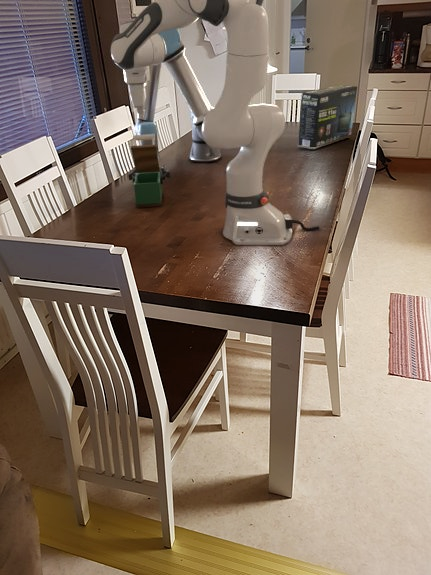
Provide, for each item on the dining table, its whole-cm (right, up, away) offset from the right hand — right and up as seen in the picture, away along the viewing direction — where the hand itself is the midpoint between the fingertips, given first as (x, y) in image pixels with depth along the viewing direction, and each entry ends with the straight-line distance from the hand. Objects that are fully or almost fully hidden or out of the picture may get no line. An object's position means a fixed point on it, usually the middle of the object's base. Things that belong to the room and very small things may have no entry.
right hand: (141, 117), depth 166 cm
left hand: (+1, -21, +12) cm, 24 cm away
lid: (0, -14, +7) cm, 15 cm away
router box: (+85, +15, +79) cm, 117 cm away
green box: (+1, -28, +13) cm, 31 cm away
